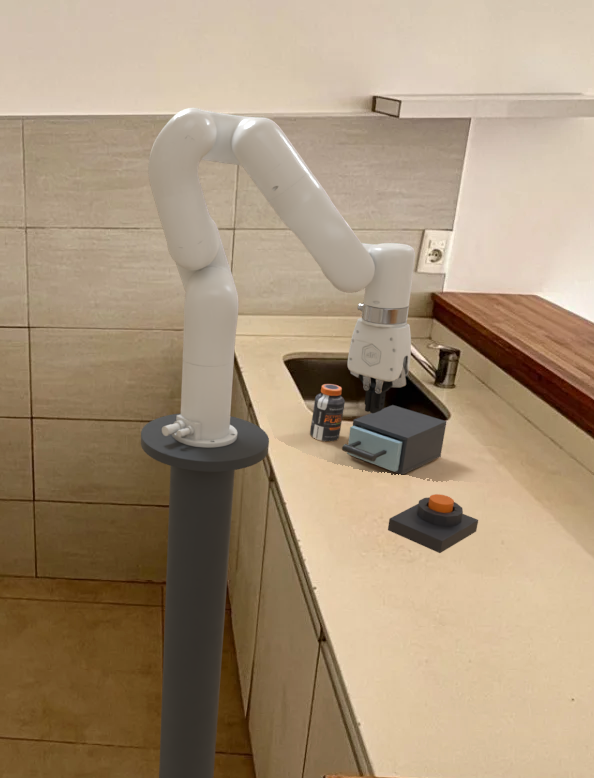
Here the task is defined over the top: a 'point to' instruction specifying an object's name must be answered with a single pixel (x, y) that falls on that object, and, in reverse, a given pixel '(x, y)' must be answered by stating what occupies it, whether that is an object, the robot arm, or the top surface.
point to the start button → (441, 503)
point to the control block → (433, 526)
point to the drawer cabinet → (408, 434)
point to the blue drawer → (374, 447)
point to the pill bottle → (327, 413)
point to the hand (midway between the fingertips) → (373, 410)
